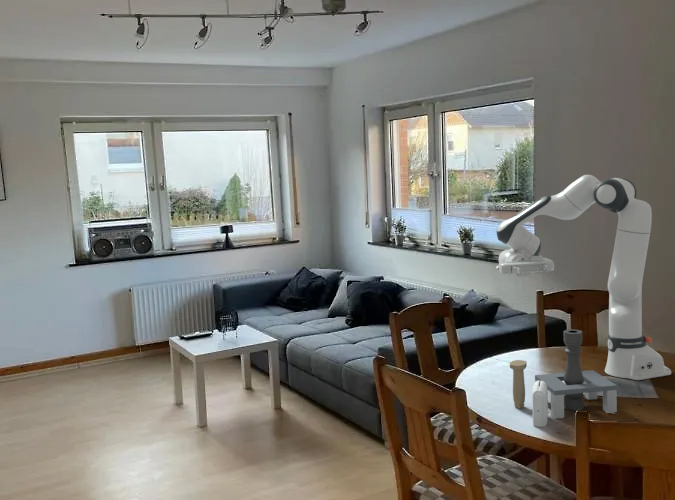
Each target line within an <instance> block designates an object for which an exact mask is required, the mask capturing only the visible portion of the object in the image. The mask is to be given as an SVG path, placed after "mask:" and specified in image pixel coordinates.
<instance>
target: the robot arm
mask: <svg viewBox="0 0 675 500" xmlns="http://www.w3.org/2000/svg"><path fill="white" fill-rule="evenodd" d="M637 194H638V193H637V188H636V186H635V184H634V183H633V182H632V181H630V180H628V179H626V178H620V177H613V178H605V179H603V180H601V181H600V180H599V178H597V177H596V176H594V175H592V174H584V175H582V176H580V177H579V178H577V179H576V180H574V181H573V182H571V183H569V185H568V186H567V187H565V188H564V189H563V190H561V192H559V193H557V194H553V195H544V196H541V197H540V198H538V199H537V200H535V201H533V202H532V203H530V204H529V205H527V206H525V207H524V208H523V209H521V210H520V211H519V212H517V213H516V214H514V215H512V216H511V217H508V218H506V219H505V220H503V221H502V222H501V223H500V224H499V225H498V226H497V228H496V236H497V239H498V241H499V242H501V243H502V244H504V245H506V246H507V247H509V248H510V249H509V248H508V249H505V250H502V251H501V252H500V254H499V256H498V264H497V265H495V266H494V268H495V269H497V270H498V272H499V273H500V274H501V275H514V276H516V277H526V276H528V275H530V274H536V273H542V272H552V271H554V270H555V262H554V261H553V260H552V259H549V258H547V257H543V255H541V254H540V253H541V249H542V241H541V239H540V238H539V237H538V236H536V234H534V233H532V232H531V231H530V230H528V229H527V228H526V227H524V226H523V225H524V224H526V223H528V222H530V220H532V219H534V218H535V217H537V216H541V215H543V216H549V217H552V218H556V219H559V220H561V221H562V220H564V221H571V220H575V219H576V218H578V217H580V216H582V214H583V213H585V211H587V210H588V209H589V208H590V207H591V206H592V205H594V204H597V205H599V207H600V208H603V209H605V210H608V211H610V212H612V213H614V214H617V216H618V218H617V219H618V220H617V227H616V234H615V239H614V245H613V250H612V256H611V257H612V258H611V262H610V263H611V264H610V268H609V273H608V274H609V275H608V280H607V291H608V293H609V294H608V295H609V297H608V298H609V299H608V334H607V350H608V352H607V353H608V355H607V359H606V360H607V361H606V365H605V367H604V372H605V373H606V374H607V375H609V376H612V377H616V378H622V379H630V380H635V381H641V380H649V379H652V378H660V377H664V376H670V375H672V370H671V368H669V367H668V366H666V365H665V363H664V358H663V356H662V355H661V354H660V353H658V352H657V351H656V350H655V349H653V348H652V347H650V346H649V345H647V343H648V344H651V343H652V342H653V338H652V337H650V336H646V335H643V334H642V331H643V328H642V327H643V325H642V323H643V321H642V320H643V319H642V316H643V315H642V312H643V311H642V309H643V307H642V304H643V302H642V301H643V300H642V298H643V296H642V295H643V294H642V293H643V292H642V291H643V290H642V289H643V278H644V274H645V266H646V261H647V254H648V248H649V242H650V238H651V237H650V235H651V231H652V219H653V218H652V217H653V215H652V206H651V205H650V203H648V202H647V201H645V200H641V199H637Z"/></svg>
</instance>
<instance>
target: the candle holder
mask: <svg viewBox="0 0 675 500" xmlns="http://www.w3.org/2000/svg"><path fill="white" fill-rule="evenodd" d="M563 342H564V345H565V347H566V348H565V349H564V353H565V354H566V366H565V369H564V373H565V374H564V381H563V383H565V384H566V385H577V384H584V378H583V374H582V371H583V370H582V367H581V362H580V360H581V359H580V357H581V353H582V352H583V351H582V349H581V345H582V343H583V331H582V330H580V329H565V330H563ZM564 409H566V410H570V411H581V410H580V409H582V410H584V409H585V396H584V393H577V394H566V395H564ZM578 409H579V410H578Z"/></svg>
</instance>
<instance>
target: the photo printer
mask: <svg viewBox="0 0 675 500" xmlns="http://www.w3.org/2000/svg"><path fill="white" fill-rule="evenodd" d="M547 393H548V390H547V385H546V383H545V382H544V381H536V382H535V381H534V383H533V386H532V390H531V397H532V398H531V400H532V424H533V426H534V427H536V428H544V427H546V426H547V425H548V424H547V423H548V416H549V415H548V414H549V411H548V410H549V405H548V403H549V402H548V401H549V400H547Z"/></svg>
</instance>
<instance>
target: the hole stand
mask: <svg viewBox="0 0 675 500" xmlns="http://www.w3.org/2000/svg"><path fill="white" fill-rule="evenodd" d="M564 374H565V372H555V373H544V374H535V375H534V383H535V382H536V381H544V382H545V383H546V385H547V400H548V397H549V396H548V393H550V416H551V417H552V418H553V419H555V420H557V419H563V418H565V407H564V396H565V395H566V394H577V393H583V396H584V398H586V399H587V400H589V401H590V400H597V399H598V393H599V392H602V411H605V412H604V413H605V414H607V413H611V414H616V413H615V412H617V413H618V409H617V407H618V405H617V404H618V401H617V397H618V396H617V391H618V389H617V384H615V383H614V382H612V381H610V380H609V379H608V378H606V377H604V376H602V374H599V373H598V372H597V371H595V370H593V369H591V370H589V369H587V370H582V374H583V378H584V381H583V384H577V385H566V384H565V382H564ZM548 401H549V400H548Z"/></svg>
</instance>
